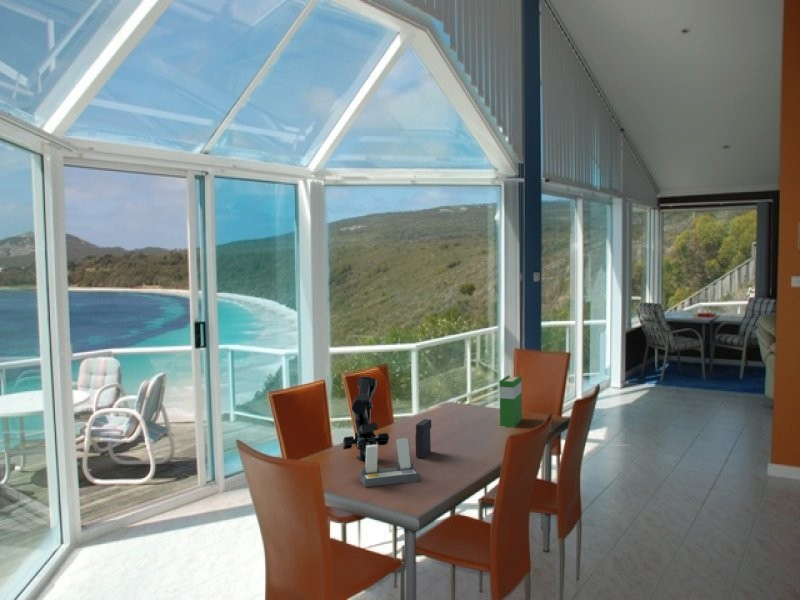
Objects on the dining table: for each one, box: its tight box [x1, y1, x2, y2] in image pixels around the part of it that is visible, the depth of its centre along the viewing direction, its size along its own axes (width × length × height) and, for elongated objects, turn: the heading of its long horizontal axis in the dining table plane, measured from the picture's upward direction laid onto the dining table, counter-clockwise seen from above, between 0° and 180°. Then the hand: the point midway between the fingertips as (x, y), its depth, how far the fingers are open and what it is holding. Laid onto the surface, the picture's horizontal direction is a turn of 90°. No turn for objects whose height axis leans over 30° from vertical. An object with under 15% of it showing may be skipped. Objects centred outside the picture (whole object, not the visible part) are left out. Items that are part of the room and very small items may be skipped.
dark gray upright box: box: [414, 418, 432, 459], centre depth 284 cm, size 11×4×15 cm, turn 159°
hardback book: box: [499, 374, 523, 428], centre depth 336 cm, size 18×7×24 cm, turn 156°
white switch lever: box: [364, 443, 379, 473], centre depth 250 cm, size 2×4×12 cm, turn 105°
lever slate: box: [395, 437, 411, 469], centre depth 257 cm, size 2×4×12 cm, turn 105°
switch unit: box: [358, 461, 420, 488], centre depth 252 cm, size 10×22×5 cm, turn 106°
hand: (369, 459), depth 254 cm, fingers closed
